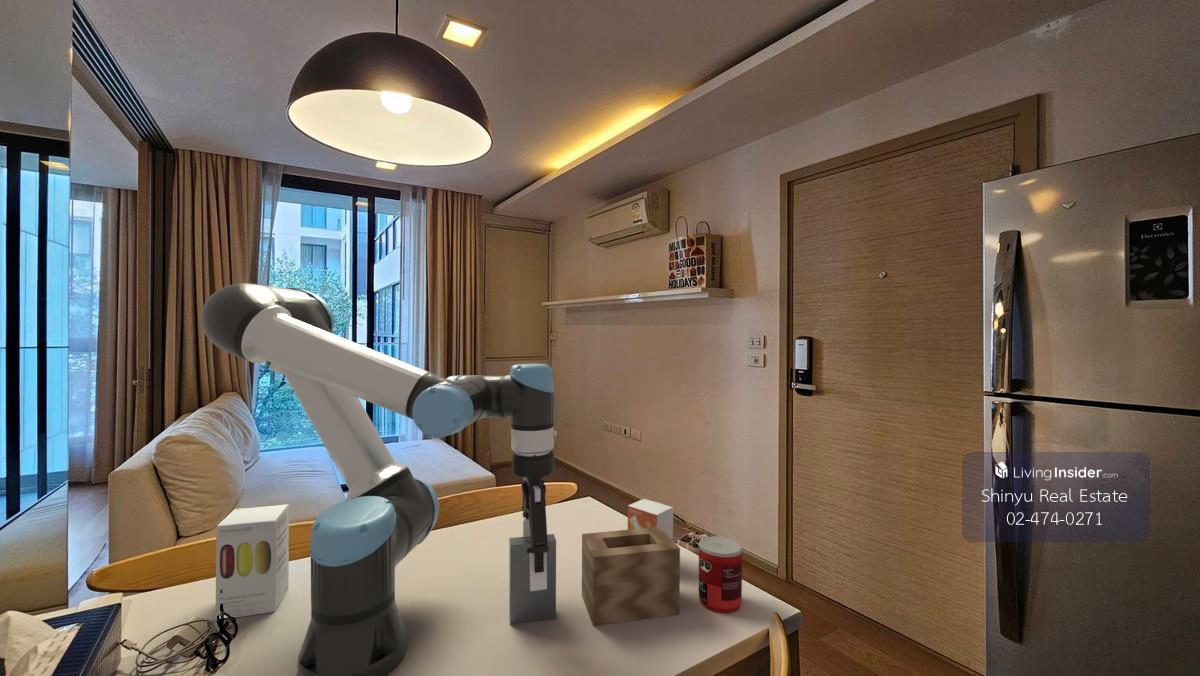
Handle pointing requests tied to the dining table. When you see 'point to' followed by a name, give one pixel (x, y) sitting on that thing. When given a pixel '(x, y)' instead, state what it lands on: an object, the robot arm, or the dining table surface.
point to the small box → (650, 516)
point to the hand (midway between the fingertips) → (534, 569)
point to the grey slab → (521, 599)
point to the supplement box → (252, 560)
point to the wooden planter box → (630, 575)
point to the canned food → (720, 574)
